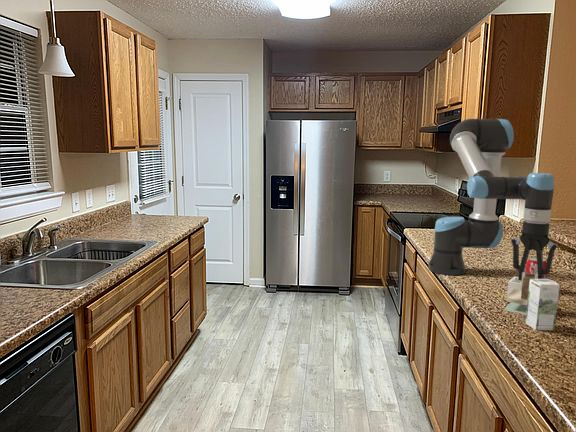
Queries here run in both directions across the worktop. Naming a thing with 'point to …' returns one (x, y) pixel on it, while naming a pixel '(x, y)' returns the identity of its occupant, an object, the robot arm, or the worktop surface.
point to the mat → (516, 308)
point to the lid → (519, 295)
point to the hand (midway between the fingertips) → (528, 291)
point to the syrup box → (542, 304)
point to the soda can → (534, 266)
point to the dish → (513, 285)
